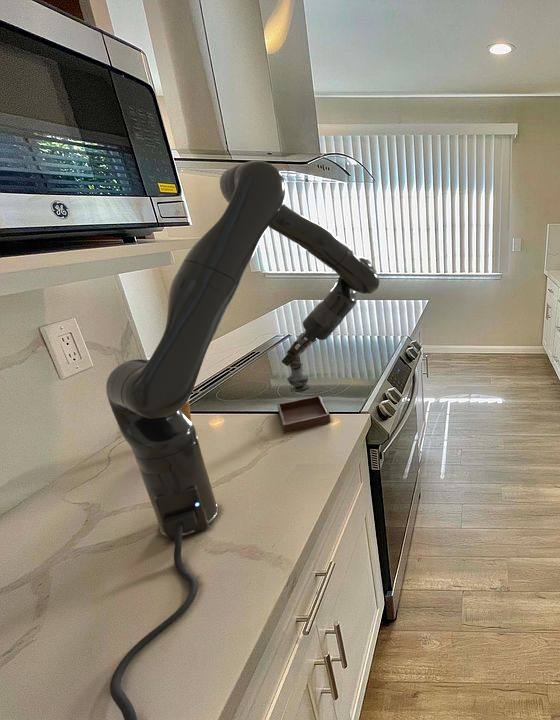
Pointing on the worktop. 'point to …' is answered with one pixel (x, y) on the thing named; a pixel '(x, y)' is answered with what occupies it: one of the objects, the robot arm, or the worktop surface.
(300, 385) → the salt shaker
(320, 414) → the spice tray
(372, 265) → the robot arm
